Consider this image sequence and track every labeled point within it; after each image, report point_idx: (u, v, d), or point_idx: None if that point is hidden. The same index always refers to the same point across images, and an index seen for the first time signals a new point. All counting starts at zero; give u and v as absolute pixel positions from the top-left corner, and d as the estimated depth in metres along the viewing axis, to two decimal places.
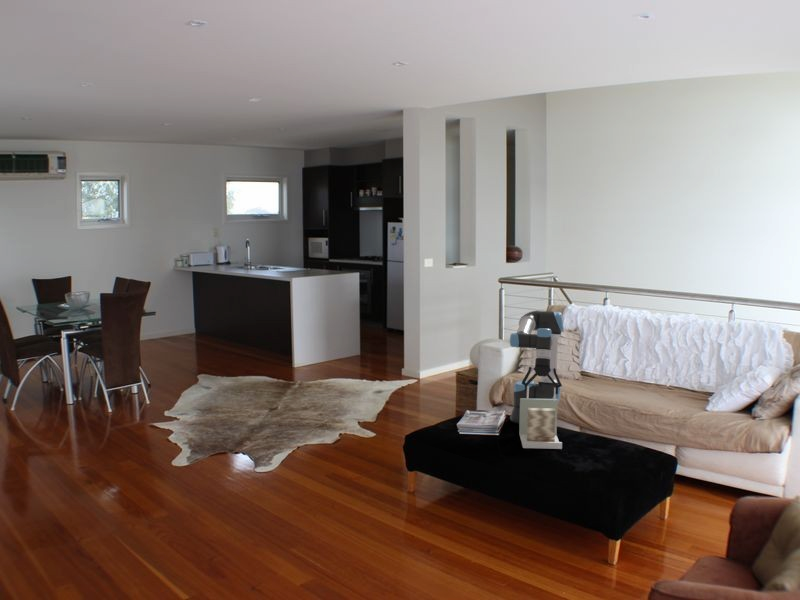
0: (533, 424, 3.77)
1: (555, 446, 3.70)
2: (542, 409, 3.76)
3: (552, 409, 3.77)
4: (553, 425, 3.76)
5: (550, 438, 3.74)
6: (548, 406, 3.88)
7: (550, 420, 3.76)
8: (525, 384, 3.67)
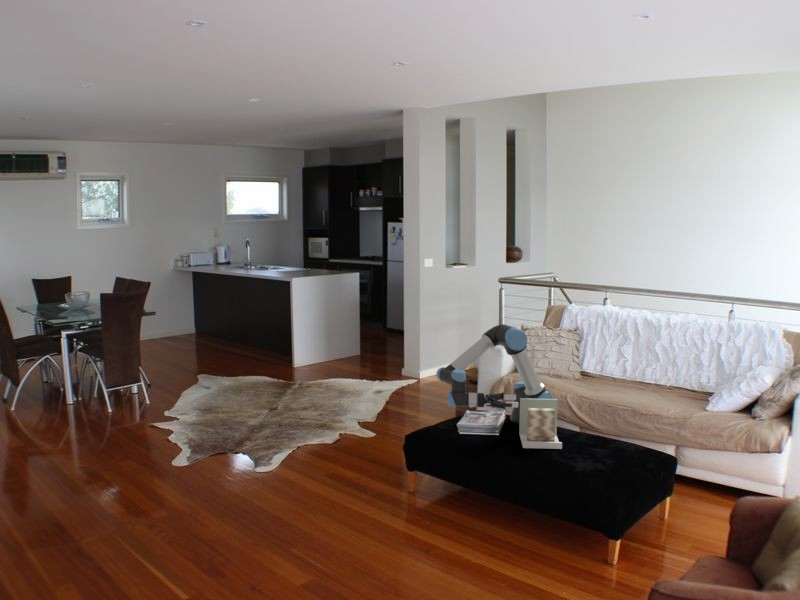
0: (533, 424, 3.77)
1: (555, 446, 3.70)
2: (542, 409, 3.76)
3: (552, 409, 3.77)
4: (553, 425, 3.76)
5: (550, 438, 3.74)
6: (548, 406, 3.88)
7: (550, 420, 3.76)
8: (502, 398, 3.86)
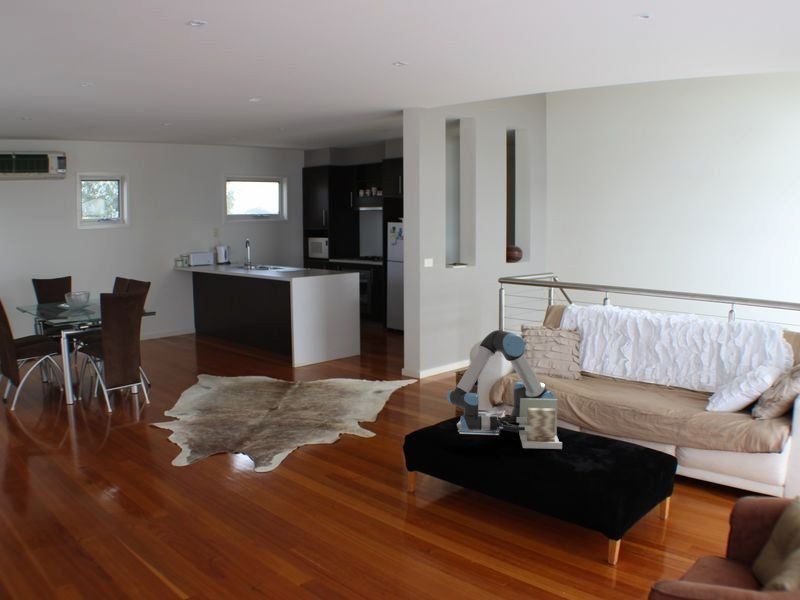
0: (533, 424, 3.77)
1: (555, 446, 3.70)
2: (542, 409, 3.76)
3: (552, 409, 3.77)
4: (553, 425, 3.76)
5: (550, 438, 3.74)
6: (548, 406, 3.88)
7: (550, 420, 3.76)
8: None
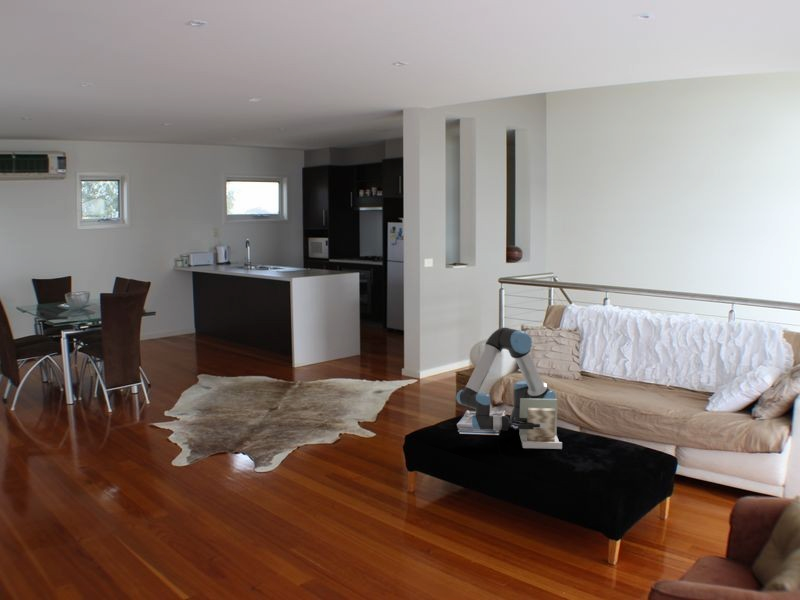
0: None
1: (555, 446, 3.70)
2: (542, 409, 3.76)
3: (552, 409, 3.77)
4: (553, 425, 3.76)
5: (550, 438, 3.74)
6: (548, 406, 3.88)
7: (550, 420, 3.76)
8: None
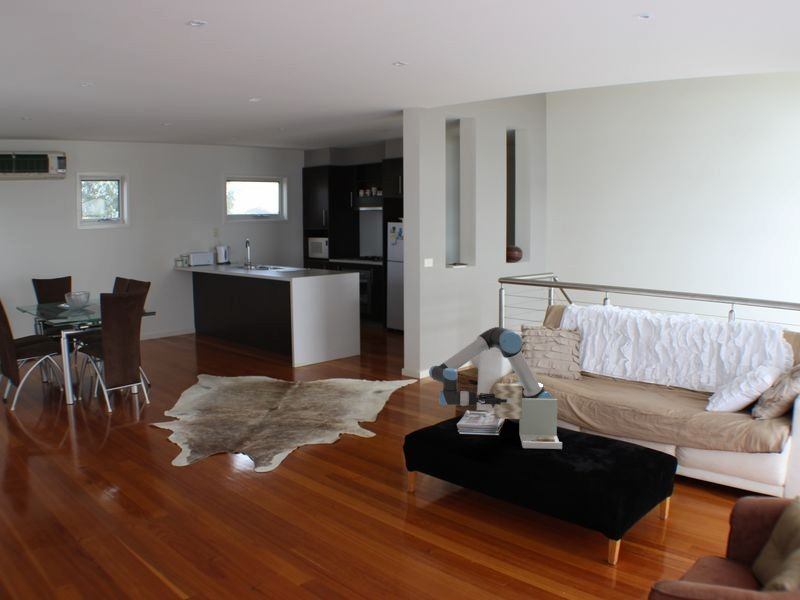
0: None
1: (555, 446, 3.70)
2: (510, 385, 3.75)
3: (519, 384, 3.76)
4: (520, 400, 3.75)
5: (550, 438, 3.74)
6: (548, 406, 3.88)
7: (517, 395, 3.75)
8: None
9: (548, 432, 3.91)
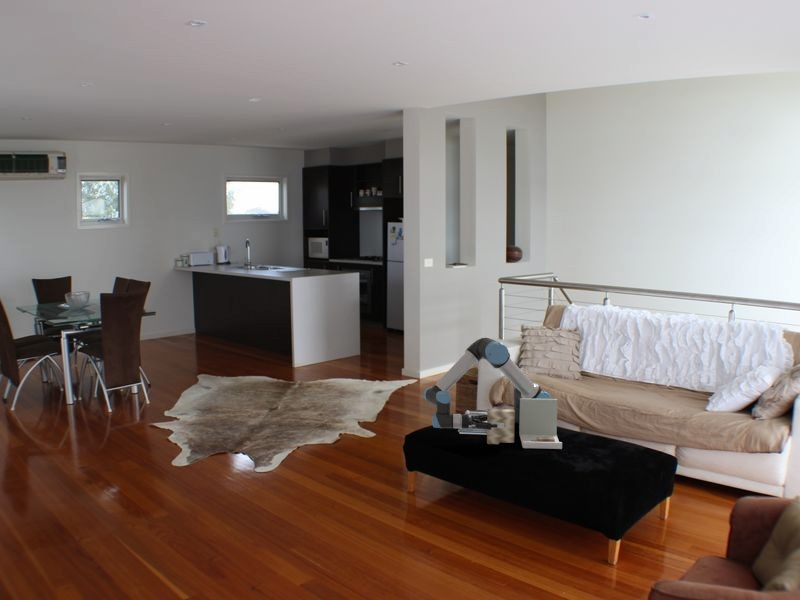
0: None
1: (555, 446, 3.70)
2: (502, 410, 3.78)
3: (512, 410, 3.79)
4: (513, 426, 3.78)
5: (550, 438, 3.74)
6: (548, 406, 3.88)
7: (509, 421, 3.78)
8: None
9: (548, 432, 3.91)
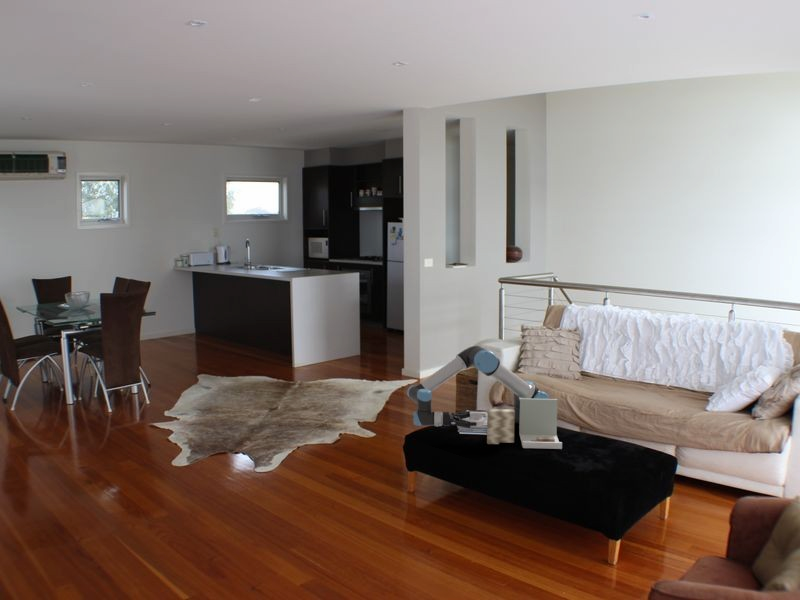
0: (493, 425, 3.79)
1: (555, 446, 3.70)
2: (502, 410, 3.78)
3: (512, 410, 3.79)
4: (513, 426, 3.78)
5: (550, 438, 3.74)
6: (548, 406, 3.88)
7: (509, 421, 3.78)
8: (468, 416, 3.89)
9: (548, 432, 3.91)
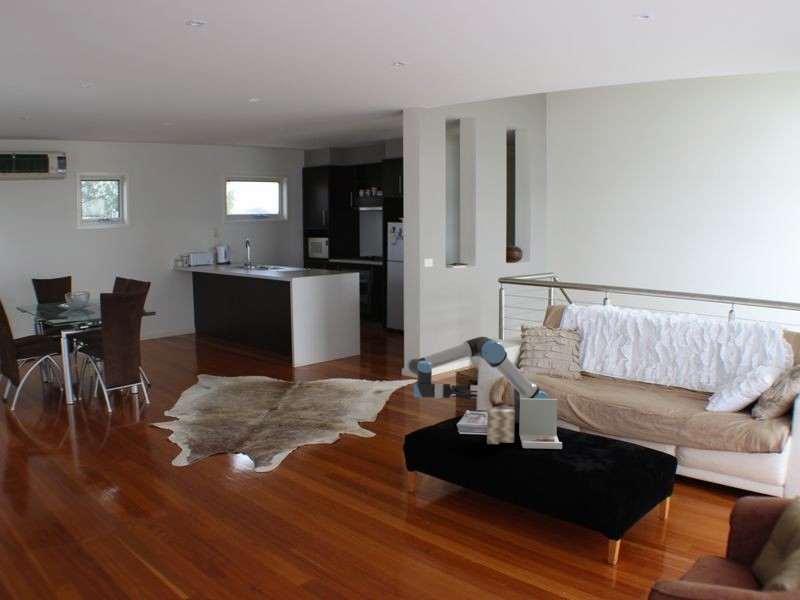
0: (493, 425, 3.79)
1: (555, 446, 3.70)
2: (502, 410, 3.78)
3: (512, 410, 3.79)
4: (513, 426, 3.78)
5: (550, 438, 3.74)
6: (548, 406, 3.88)
7: (509, 421, 3.78)
8: (469, 389, 3.87)
9: (548, 432, 3.91)
